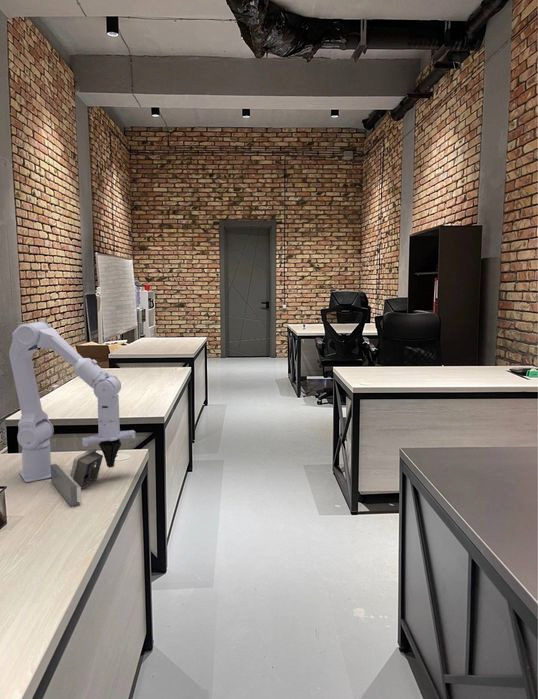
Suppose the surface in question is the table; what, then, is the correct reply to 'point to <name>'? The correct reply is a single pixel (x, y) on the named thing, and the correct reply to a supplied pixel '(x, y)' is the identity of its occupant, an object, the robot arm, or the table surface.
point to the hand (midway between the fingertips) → (110, 466)
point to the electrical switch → (86, 467)
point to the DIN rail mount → (65, 485)
